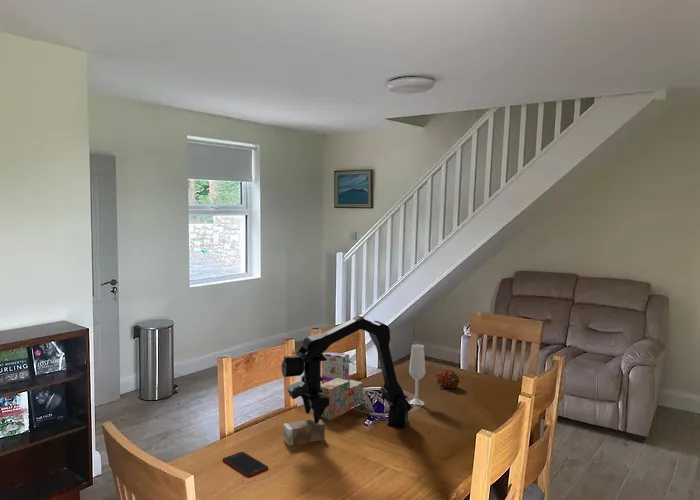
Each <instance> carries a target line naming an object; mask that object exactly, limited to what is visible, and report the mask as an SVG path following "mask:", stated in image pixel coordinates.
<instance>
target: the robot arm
mask: <svg viewBox="0 0 700 500" xmlns="http://www.w3.org/2000/svg"><path fill="white" fill-rule="evenodd" d="M360 330H362V331H365V332H366V333H368V335H369V338H370V339H371V341H372V342H373V344H374V345H375V348H376V353H377V355H378V360H379V364H380V368H381V373H382V377H383V382H384V384H383V386H382V387H380V392H381V397H382V398H383V399H384V401H386V402H387V404H388V406H389V410H387V412H388V413H387V415H388V416H387V422H388V423H387V425H388V426H390V427H396V428H399V429H405V428H406V427H407V426H408V425H409V424H410V423H411V422H410V420H409V412H410V411H411V409H412V405H411V404H410V403H409V401H408V400H407V399H406V395H405V393H404V390H403V388H402V386H401V385H400V384H399V381H398V380H397V375H396V374H397V373H396V371H395V367H394V366H395V365H394V361H393V357H392V354H391V353H392V352H391V350H390V349H391V348H390V341H391V330H390V327H389V326H388V325H387V324H385V323H384V322H380V321H379V320H373V321H370V320H369V319H366V318H363V317H361V316H358V315H357V316H354V317H353V318H352V319H351V318H350V319H349V320H346V321H344V322H343V323H342V324H339V325H337V326H335V327H333V328H331V329H329V330H327V331H325V332H320V333H315V334H311V335H310V336H309V335H308V336H306V337H305V338H304V339H303V341H302V345H301V347H300V348H299V349H298V351H297V352H296V354H295V355H293V356H292V355H291V356H290V355H285V356H283V360H282V363H281V367H280V368H281V374H282V377H284V378H291V377H299V376H301V380H299V381H296V382H294V383H292V384H290V385H288V386H287V387H286V390H287V391H288V394H289V396H290V397H291V399H292V400H295V399H297V398H299V397H301V399H302V403H303V407H304V410H305V414H306V415H307V414H310V412H311V409H312V415H313V419H314V422H315V423H318V422H319V420H321V418H322V417H321V416H322V414H323V412H324V410H325V409H326V407H328V406H329V405H330V400H329V399H328V398H327V397H326V396H325V395H324V394H320V395H319V393H322V389H321V384H322V381H323V378H322V361H327V359H326V358H325V357H324V356H323V353H325V352H327V350H328V348H329V347H331V345H333V344H334V343H337V342H338V341H340V340H342V339H344V338H346V337H348V336H350V335H353V334H354V333H356V332H358V331H360Z"/></svg>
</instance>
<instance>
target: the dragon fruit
mask: <svg viewBox="0 0 700 500" xmlns="http://www.w3.org/2000/svg"><path fill="white" fill-rule="evenodd" d="M435 377H436V378H437V379H436V383H437V384H439V385H440V384H441V386H442V388H444V389H446V388H448V389H451V390H453V388H457V387H458V386H459V383H460V382H461V381H460V378H459V376H458V375H457V374H456V372H455V371H454V370H450V369H445V370H444V371H443V372H440V373H437V374H436V376H435Z"/></svg>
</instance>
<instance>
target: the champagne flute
mask: <svg viewBox="0 0 700 500" xmlns="http://www.w3.org/2000/svg"><path fill="white" fill-rule="evenodd" d="M410 351H411V352H410V361H409V367H408V373H409V375H410V377H411V378H412V379H413V380H414V381H415V383H414V387H415V389H414V398H413V399H411V400H409V401H410V404H414V405H415V404H417V405H420V406H419V407H422V406H424V405H425V402H424V401H422V400H421V399H419V381H420V380H421V379H422V378H424V376H425V374H426V362H425V359H426V357H425V346H424V344H419V343H417V344H412V345H411V350H410Z"/></svg>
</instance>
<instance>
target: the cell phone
mask: <svg viewBox="0 0 700 500" xmlns="http://www.w3.org/2000/svg"><path fill="white" fill-rule="evenodd" d="M222 462H223V463H224V462H225V463H224V464H226V465H227V464H228V465H227V466H229V467H231V468H232V469H234V470H235V469H236V471H237V470H238V471H239V472H238V471H237V472H238V473H240V474H241V475H242V476H244V475H245V476H244V477H246V478H251V477H253V476H257V475H259V474H262V473H263V472H266V471H268V470H269V466H268V465H266V464H265V463H263V462H261V460H258V459H257V458H254V457H253V456H251V455H249V454H248V453H247V452H244V451H241V452H236V453H234V454H231V455H229V456H225V457H223V458H222Z"/></svg>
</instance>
